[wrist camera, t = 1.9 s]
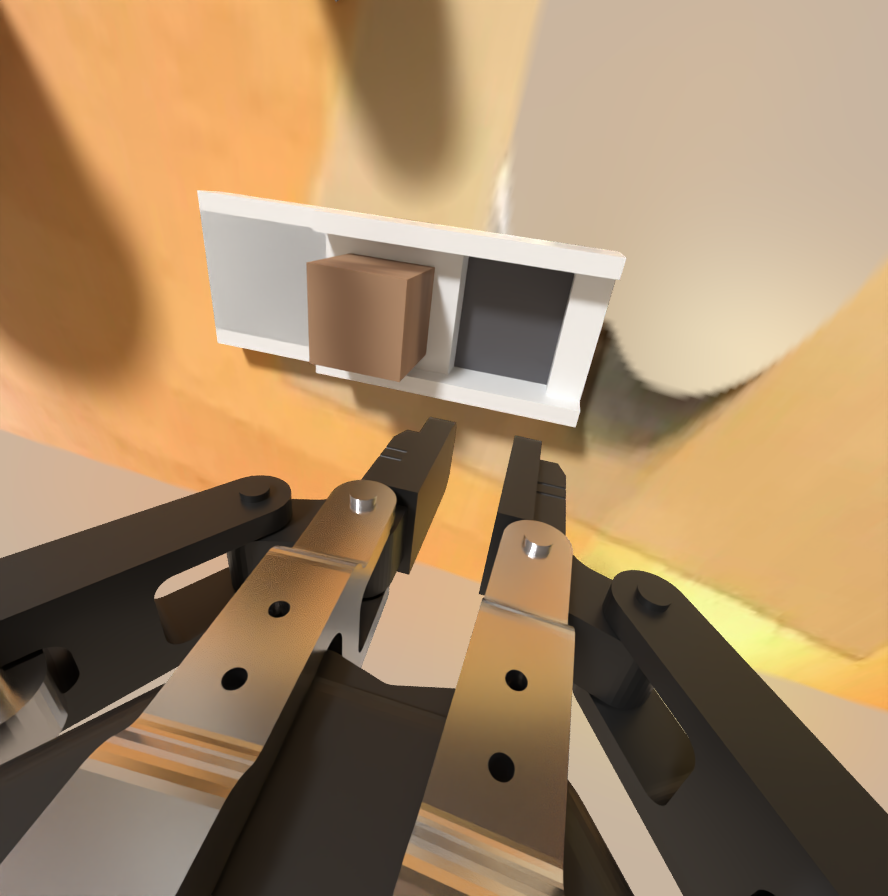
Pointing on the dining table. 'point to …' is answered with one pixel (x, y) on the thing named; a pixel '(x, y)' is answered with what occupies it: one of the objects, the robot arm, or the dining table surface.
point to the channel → (452, 307)
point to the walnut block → (368, 314)
